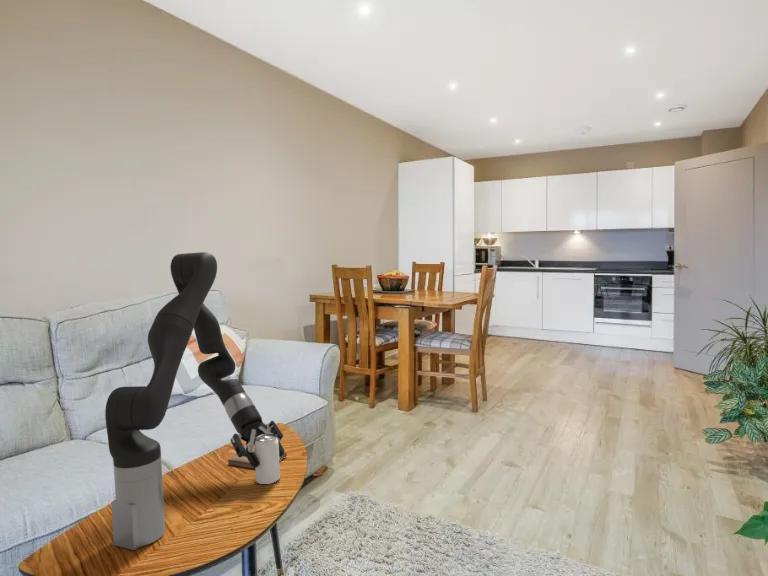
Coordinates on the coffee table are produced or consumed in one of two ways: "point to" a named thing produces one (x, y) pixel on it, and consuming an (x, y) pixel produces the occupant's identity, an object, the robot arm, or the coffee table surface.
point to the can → (267, 459)
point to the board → (245, 460)
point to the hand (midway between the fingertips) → (270, 460)
